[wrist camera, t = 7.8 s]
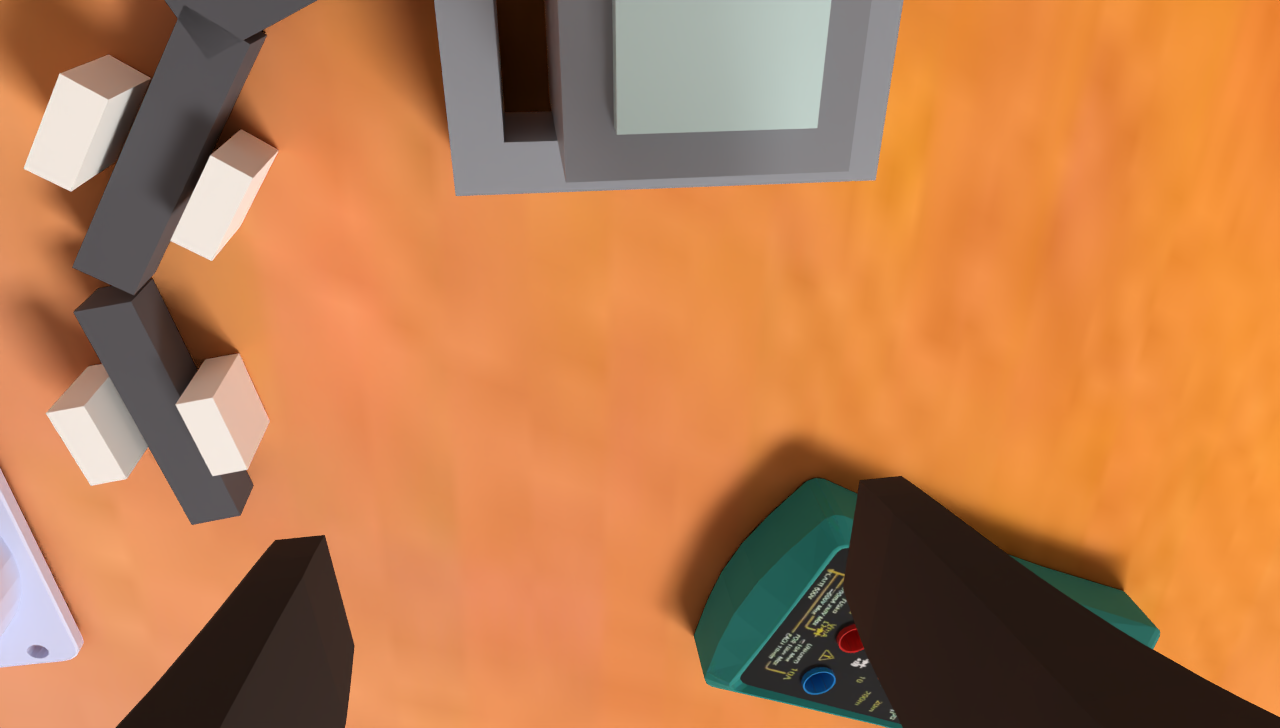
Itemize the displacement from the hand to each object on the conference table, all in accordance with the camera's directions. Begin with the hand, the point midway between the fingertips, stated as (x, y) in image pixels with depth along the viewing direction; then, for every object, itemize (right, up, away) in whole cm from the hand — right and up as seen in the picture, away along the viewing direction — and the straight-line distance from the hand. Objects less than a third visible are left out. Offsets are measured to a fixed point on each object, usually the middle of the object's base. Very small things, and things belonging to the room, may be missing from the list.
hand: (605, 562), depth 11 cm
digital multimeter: (+10, -5, +17) cm, 20 cm away
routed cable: (-8, +6, +7) cm, 12 cm away
